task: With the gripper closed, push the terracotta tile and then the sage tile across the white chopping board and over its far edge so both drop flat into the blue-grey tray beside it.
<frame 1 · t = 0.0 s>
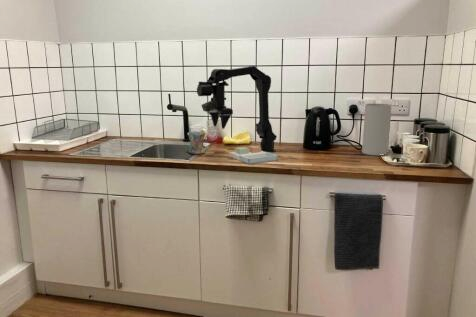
hand: (219, 127, 197), 15 cm above the worktop, tool pointing down, fingers open, 9 cm apart
mug: (196, 154, 207), on the worktop
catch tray: (258, 160, 192), on the worktop
sage tile: (242, 153, 198), point 2 cm above the worktop, touching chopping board
cylinder vase: (374, 153, 206), on the worktop
terracotta tile: (254, 151, 201), point 2 cm above the worktop, touching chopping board
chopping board: (248, 156, 200), on the worktop
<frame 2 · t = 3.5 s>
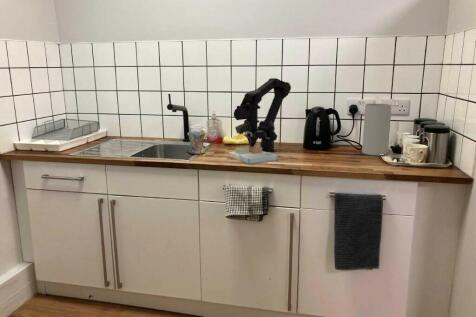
hand: (251, 148, 203), 3 cm above the worktop, tool pointing down, fingers closed
terracotta tile: (255, 152, 201), point 2 cm above the worktop, touching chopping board, gripper
everything else where it was.
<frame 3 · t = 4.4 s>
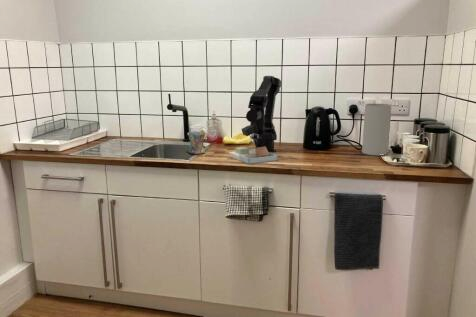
hand: (258, 151, 198), 3 cm above the worktop, tool pointing down, fingers closed
terracotta tile: (261, 154, 196), point 2 cm above the worktop, tilted 43°, touching gripper
everything else where it was.
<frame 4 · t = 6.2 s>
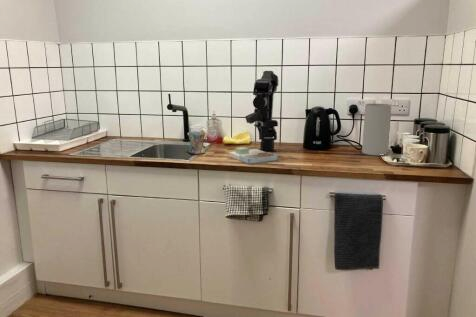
hand: (262, 139, 193), 10 cm above the worktop, tool pointing down, fingers closed
terracotta tile: (264, 158, 194), resting on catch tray
everything else where it was.
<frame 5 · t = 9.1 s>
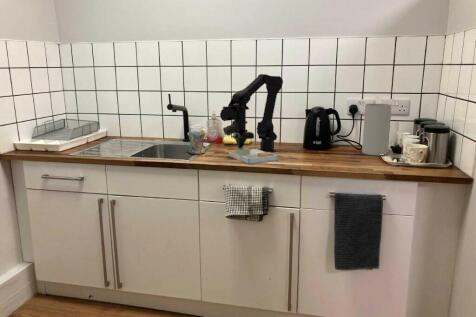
hand: (239, 150, 200), 3 cm above the worktop, tool pointing down, fingers closed
sage tile: (243, 153, 197), point 2 cm above the worktop, touching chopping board, gripper
everything else where it was.
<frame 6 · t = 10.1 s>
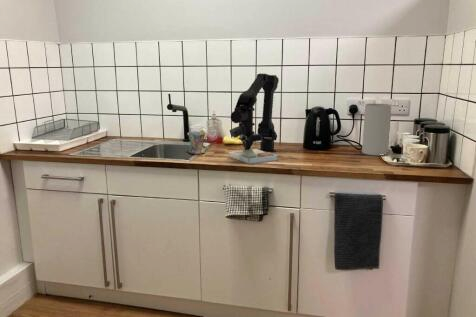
hand: (246, 152, 194), 3 cm above the worktop, tool pointing down, fingers closed
sage tile: (248, 157, 192), point 1 cm above the worktop, tilted 27°, touching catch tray, gripper
everything else where it was.
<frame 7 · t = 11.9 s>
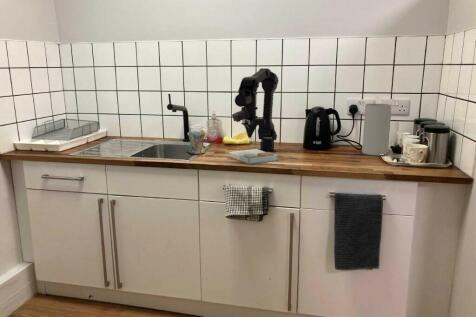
hand: (249, 137, 190), 11 cm above the worktop, tool pointing down, fingers closed
sage tile: (250, 160, 191), resting on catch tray
everything else where it was.
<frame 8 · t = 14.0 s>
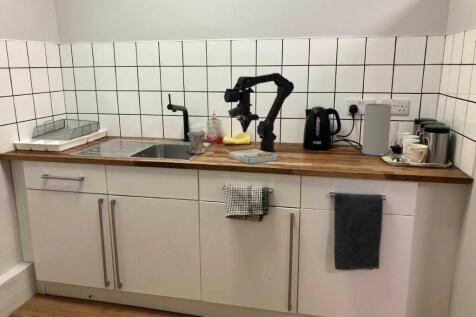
hand: (244, 132, 204), 11 cm above the worktop, tool pointing down, fingers closed
nothing on the worktop moved.
at the end: terracotta tile inside the target area (1.0 cm from its centre), resting on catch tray; sage tile inside the target area (1.3 cm from its centre), resting on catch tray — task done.
